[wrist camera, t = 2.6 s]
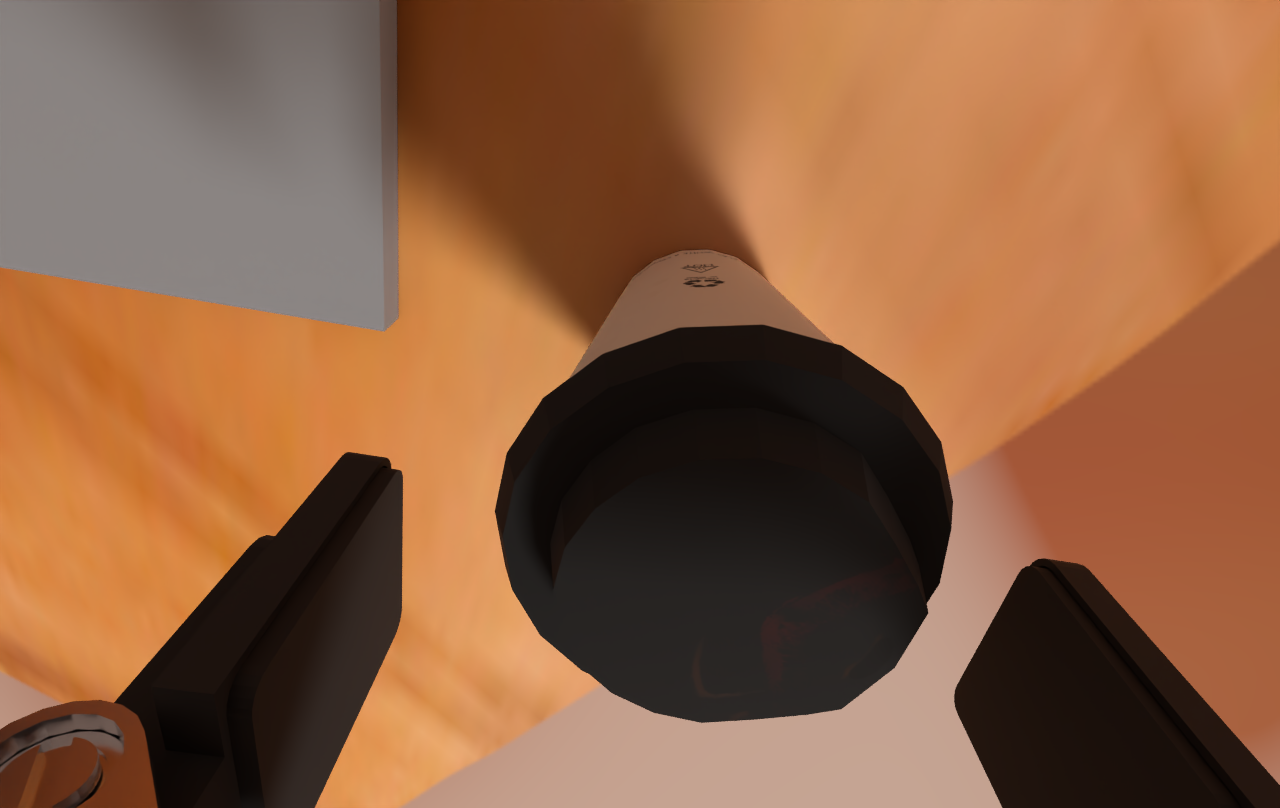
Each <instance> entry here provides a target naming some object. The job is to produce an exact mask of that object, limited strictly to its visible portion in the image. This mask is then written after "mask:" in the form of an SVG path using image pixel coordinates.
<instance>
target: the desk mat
mask: <svg viewBox="0 0 1280 808" xmlns="http://www.w3.org/2000/svg"><path fill="white" fill-rule="evenodd" d="M0 267H2V268H8V269H14V270H20V271H26V272H32V273H38V274H44V275H50V276H56V277H62V278H68V279H74V280H80V281H86V282H92V283H98V284H104V285H110V286H116V287H122V288H128V289H134V290H140V291H146V292H152V293H157V294H163V295H169V296H175V297H181V298H187V299H193V300H199V301H205V302H211V303H217V304H223V305H229V306H235V307H241V308H247V309H253V310H259V311H265V312H271V313H277V314H283V315H289V316H295V317H301V318H307V319H313V320H319V321H325V322H331V323H337V324H343V325H349V326H355V327H361V328H367V329H373V330H379V331H385V330H386V329H387V328H389V327H390V326H391V325H392V324H393V323H394V322H395V321H396V320H397V319H398V125H397V0H0Z"/></svg>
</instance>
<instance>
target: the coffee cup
mask: <svg viewBox="0 0 1280 808" xmlns="http://www.w3.org/2000/svg"><path fill="white" fill-rule="evenodd" d="M952 507H953V499H952V494H951V489H950V484H949V479H948V474H947V469H946V464H945V459H944V454H943V449H942V444H941V441H940V440H939V438H938V437H937V435H936V434H935V432H934V431H933V429H932V428H931V427H930V425H929V424H928V422H927V421H926V419H925V418H924V416H923V415H922V414H921V412H920V411H919V409H918V408H917V406H916V405H915V403H914V402H913V401H912V399H911V398H910V396H909V395H908V393H907V392H906V390H905V389H904V388H903V387H902V386H901V385H899V384H898V383H896V382H895V381H893V380H892V379H890V378H889V377H887V376H886V375H884V374H883V373H881V372H880V371H878V370H877V369H875V368H874V367H873V366H871V365H870V364H868V363H867V362H865V361H864V360H862V359H861V358H859V357H858V356H856V355H855V354H853V353H852V352H850V351H849V350H847V349H846V348H844V347H843V346H841V345H837V344H834V343H833V342H832V341H831V340H830V339H829V338H828V337H826V336H825V335H824V334H823V333H822V332H821V331H820V330H819V329H818V328H817V327H816V326H815V325H814V324H813V323H812V322H811V321H810V320H808V319H807V318H806V317H805V316H804V315H803V314H802V313H801V312H800V311H799V310H798V309H797V308H796V307H795V306H794V305H793V304H792V303H790V302H789V301H788V300H787V299H786V298H785V297H784V296H783V295H782V294H781V293H780V292H779V291H778V290H777V289H776V288H775V287H773V286H772V285H771V284H770V283H769V282H768V281H767V280H766V279H765V278H764V277H763V276H762V275H761V274H760V273H759V272H757V271H756V270H754V269H753V268H751V267H750V266H749V265H747V264H746V263H744V262H743V261H741V260H740V259H738V258H737V257H734V256H731V255H727V254H724V253H720V252H717V251H713V250H709V249H706V250H682V251H678V252H676V253H673V254H670V255H667V256H665V257H662V258H659V259H656V260H654V261H653V262H652V263H650V264H649V265H648V266H646V267H645V268H644V269H643V270H641V271H640V272H639V273H637V274H636V275H635V276H634V277H633V278H632V279H631V281H630V282H629V284H628V285H627V287H626V288H625V290H624V291H623V293H622V294H621V296H620V297H619V299H618V300H617V302H616V303H615V305H614V307H613V308H612V310H611V312H610V313H609V315H608V316H607V318H606V320H605V321H604V323H603V325H602V326H601V328H600V329H599V331H598V333H597V334H596V336H595V338H594V339H593V341H592V342H591V344H590V346H589V347H588V349H587V351H586V352H585V354H584V355H583V357H582V359H581V360H580V362H579V364H578V365H577V367H576V368H575V370H574V372H573V373H572V375H571V377H570V378H569V379H568V380H567V381H565V382H564V383H563V384H561V385H560V386H559V387H557V388H556V389H555V390H553V391H552V392H551V393H549V394H548V395H547V396H545V397H544V398H543V399H542V401H541V402H540V404H539V405H538V407H537V408H536V410H535V411H534V413H533V414H532V416H531V417H530V419H529V420H528V422H527V423H526V425H525V426H524V428H523V429H522V431H521V432H520V434H519V435H518V437H517V439H516V440H515V442H514V443H513V445H512V446H511V448H510V449H509V451H508V452H507V455H506V460H505V465H504V469H503V474H502V479H501V484H500V489H499V494H498V499H497V504H496V508H495V514H496V519H497V525H498V530H499V535H500V540H501V546H502V551H503V556H504V562H505V566H506V570H507V573H508V577H509V580H510V584H511V587H512V590H513V592H514V593H515V595H516V597H517V598H518V600H519V601H520V603H521V605H522V606H523V608H524V610H525V611H526V613H527V614H528V616H529V618H530V619H531V621H532V623H533V624H534V626H535V627H536V629H537V631H538V632H539V634H540V635H541V636H542V637H543V638H544V639H545V640H547V641H548V642H549V643H550V644H551V645H553V646H554V647H555V648H556V649H557V650H558V651H560V652H561V653H562V654H563V655H564V656H566V657H567V658H568V659H569V660H570V661H571V662H573V663H574V664H575V665H576V666H577V667H578V668H580V669H581V670H582V671H584V672H586V673H588V674H590V675H591V676H592V677H594V678H595V679H596V680H597V681H598V682H600V683H601V684H602V685H603V686H604V687H606V688H607V689H608V690H609V691H610V692H611V693H613V694H615V695H617V696H619V697H621V698H624V699H626V700H628V701H630V702H632V703H634V704H637V705H639V706H641V707H643V708H645V709H647V710H649V711H651V712H654V713H658V714H663V715H667V716H673V717H677V718H682V719H686V720H691V721H696V722H701V723H703V722H719V721H720V722H721V721H737V720H754V719H764V718H775V717H785V716H797V715H808V714H814V713H820V712H826V711H833V710H839V709H842V708H843V707H845V706H846V705H847V704H848V703H850V702H851V701H852V700H853V699H855V698H856V697H858V696H859V695H860V694H861V693H863V692H864V691H865V690H867V689H868V688H869V687H870V686H872V685H873V684H874V683H876V682H877V681H878V680H879V679H881V678H882V677H883V676H885V675H886V674H887V673H889V672H890V671H891V670H892V669H893V668H895V666H896V665H897V663H898V661H899V660H900V658H901V657H902V655H903V653H904V652H905V650H906V648H907V647H908V645H909V643H910V642H911V640H912V639H913V637H914V635H915V634H916V632H917V631H918V629H919V627H920V626H921V624H922V622H923V621H924V619H925V618H926V616H927V614H928V609H927V602H928V601H929V599H930V597H931V596H932V594H933V593H934V591H935V590H936V588H937V587H938V585H939V583H940V578H941V574H942V570H943V565H944V560H945V555H946V551H947V546H948V541H949V537H950V532H951V524H952Z"/></svg>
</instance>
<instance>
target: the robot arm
mask: <svg viewBox="0 0 1280 808" xmlns="http://www.w3.org/2000/svg"><path fill="white" fill-rule="evenodd" d="M402 522H403V475H402V472H401V471H400V470H396V469H391V463H390V460H389V459H388V458H384V457H378V456H371V455H365V454H358V453H352V452H348V453H345V454H344V455H343V456H342V457H341V458H340V459H339V460H338V461H337V463H336V464H335V465H334V466H333V467H332V469H331V470H330V471H329V472H328V474H327V475H326V476H325V477H324V478H323V480H322V481H321V482H320V483H319V484H318V486H317V487H316V488H315V489H314V490H313V492H312V493H311V494H310V495H309V496H308V498H307V499H306V500H305V501H304V502H303V504H302V505H301V506H300V507H299V508H298V510H297V511H296V512H295V513H294V514H293V516H292V517H291V518H290V519H289V520H288V522H287V523H286V524H285V525H284V526H283V528H282V529H281V530H280V531H279V532H278V534H277V535H276V536H269V535H266V536H263V537H260V538H258V539H257V540H256V541H255V542H254V543H253V544H252V545H251V546H250V547H249V548H248V549H247V550H246V551H245V552H244V554H243V555H242V556H241V557H240V558H239V559H238V561H237V562H236V563H235V564H234V565H233V566H232V567H231V569H230V570H229V571H228V572H227V573H226V574H225V576H224V577H223V578H222V579H221V580H220V581H219V582H218V584H217V585H216V586H215V587H214V588H213V589H212V590H211V592H210V593H209V594H208V595H207V596H206V597H205V599H204V600H203V601H202V602H201V603H200V604H199V605H198V607H197V608H196V609H195V610H194V611H193V612H192V614H191V615H190V616H189V617H188V618H187V619H186V620H185V622H184V623H183V624H182V625H181V626H180V627H179V628H178V630H177V631H176V632H175V633H174V634H173V635H172V637H171V638H170V639H169V640H168V641H167V642H166V643H165V645H164V646H163V647H162V648H161V649H160V650H159V651H158V653H157V654H156V655H155V656H154V657H153V658H152V660H151V661H150V662H149V663H148V664H147V665H146V666H145V668H144V669H143V670H142V671H141V672H140V673H139V675H138V676H137V677H136V678H135V679H134V680H133V681H132V683H131V684H130V685H129V686H128V687H127V688H126V689H125V691H124V692H123V693H122V694H121V695H120V696H119V698H118V699H117V700H116V701H115V702H114V703H111V702H107V701H102V700H92V701H73V702H69V703H65V704H61V705H57V706H53V707H49V708H45V709H42V710H40V711H37V712H35V713H32V714H30V715H28V716H26V717H23V718H21V719H19V720H16V721H14V722H12V723H10V724H8V725H6V726H5V727H3V728H2V729H1V730H0V808H315V806H316V804H317V801H318V799H319V797H320V795H321V793H322V791H323V789H324V787H325V784H326V782H327V780H328V778H329V776H330V774H331V772H332V769H333V767H334V765H335V763H336V761H337V759H338V757H339V754H340V752H341V750H342V748H343V746H344V744H345V742H346V739H347V737H348V735H349V733H350V731H351V729H352V727H353V725H354V722H355V720H356V718H357V716H358V714H359V712H360V710H361V707H362V705H363V703H364V701H365V699H366V697H367V695H368V692H369V690H370V688H371V686H372V684H373V682H374V680H375V677H376V675H377V673H378V671H379V669H380V667H381V665H382V663H383V660H384V658H385V656H386V654H387V652H388V650H389V648H390V645H391V643H392V641H393V639H394V637H395V635H396V632H397V629H398V626H399V622H400V618H401V612H402ZM954 699H955V700H954V702H955V707H956V710H957V713H958V716H959V718H960V720H961V722H962V724H963V726H964V728H965V730H966V732H967V734H968V736H969V738H970V741H971V743H972V745H973V747H974V749H975V751H976V753H977V755H978V757H979V760H980V761H981V764H982V765H983V768H984V770H985V772H986V774H987V776H988V778H989V780H990V783H991V785H992V787H993V789H994V791H995V793H996V795H997V797H998V799H999V801H1000V803H1001V806H1002V808H1280V785H1279V784H1278V783H1277V782H1276V781H1275V779H1274V778H1273V777H1272V776H1271V775H1270V774H1269V773H1268V772H1267V770H1266V769H1265V768H1264V767H1263V766H1262V765H1261V764H1260V762H1259V761H1258V760H1257V759H1256V758H1255V757H1254V756H1253V755H1252V753H1251V752H1250V751H1249V750H1248V749H1247V748H1246V747H1245V746H1244V744H1243V743H1242V742H1241V741H1240V740H1239V739H1238V738H1237V737H1236V735H1235V734H1234V733H1233V732H1232V731H1231V730H1230V729H1229V728H1228V727H1227V725H1226V724H1225V723H1224V722H1223V721H1222V720H1221V718H1220V717H1219V716H1218V715H1217V714H1216V713H1215V712H1214V711H1213V709H1212V708H1211V707H1210V706H1209V705H1208V704H1207V703H1206V702H1205V700H1203V698H1202V697H1201V696H1200V695H1199V694H1198V692H1197V691H1196V690H1195V689H1194V688H1193V687H1192V686H1191V685H1190V683H1189V682H1188V681H1187V680H1186V679H1185V678H1184V677H1183V676H1182V674H1181V673H1180V672H1179V671H1178V670H1177V669H1176V668H1175V667H1174V666H1173V664H1172V663H1171V662H1170V661H1169V660H1168V659H1167V657H1166V656H1165V655H1164V654H1163V653H1162V652H1161V651H1160V650H1159V648H1158V647H1157V646H1156V645H1155V644H1154V643H1153V642H1152V641H1151V640H1150V638H1149V637H1148V636H1147V635H1146V634H1145V633H1144V631H1143V630H1142V629H1141V628H1140V627H1139V626H1138V625H1137V624H1136V622H1135V621H1134V620H1133V619H1132V618H1131V617H1130V616H1129V615H1128V613H1127V612H1126V611H1125V610H1124V609H1123V608H1122V607H1121V605H1120V604H1119V603H1118V602H1117V601H1116V600H1115V599H1114V598H1113V596H1112V595H1111V594H1110V593H1109V592H1108V591H1107V590H1106V589H1105V587H1104V586H1103V585H1102V584H1101V583H1100V582H1099V581H1098V580H1097V578H1096V577H1095V576H1094V575H1093V574H1092V573H1091V572H1090V570H1088V569H1087V568H1086V567H1085V566H1083V565H1080V564H1077V563H1070V562H1064V561H1057V560H1050V559H1038V560H1036V561H1034V562H1033V563H1032V564H1031V565H1030V566H1027V567H1025V568H1023V569H1022V570H1021V571H1020V572H1019V574H1018V576H1017V578H1016V580H1015V581H1014V583H1013V585H1012V587H1011V588H1010V590H1009V592H1008V594H1007V596H1006V597H1005V599H1004V601H1003V603H1002V605H1001V607H1000V608H999V610H998V612H997V614H996V616H995V617H994V619H993V621H992V623H991V625H990V627H989V628H988V630H987V632H986V634H985V636H984V637H983V639H982V641H981V643H980V645H979V646H978V648H977V650H976V652H975V654H974V655H973V657H972V659H971V661H970V663H969V664H968V666H967V668H966V670H965V672H964V674H963V675H962V677H961V679H960V681H959V683H958V684H957V687H956V689H955V695H954Z"/></svg>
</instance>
